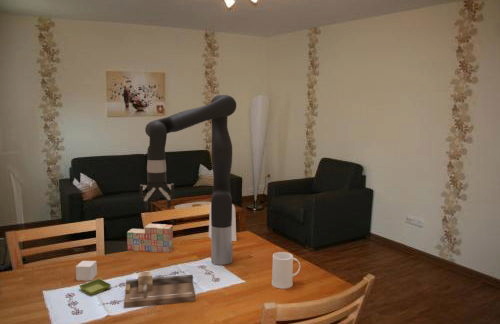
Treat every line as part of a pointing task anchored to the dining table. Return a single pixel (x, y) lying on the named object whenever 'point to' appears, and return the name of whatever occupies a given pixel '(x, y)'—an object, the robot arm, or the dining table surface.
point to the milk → (232, 223)
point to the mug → (283, 270)
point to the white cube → (86, 270)
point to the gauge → (145, 282)
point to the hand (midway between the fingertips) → (157, 209)
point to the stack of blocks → (151, 238)
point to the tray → (160, 291)
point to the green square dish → (95, 286)
